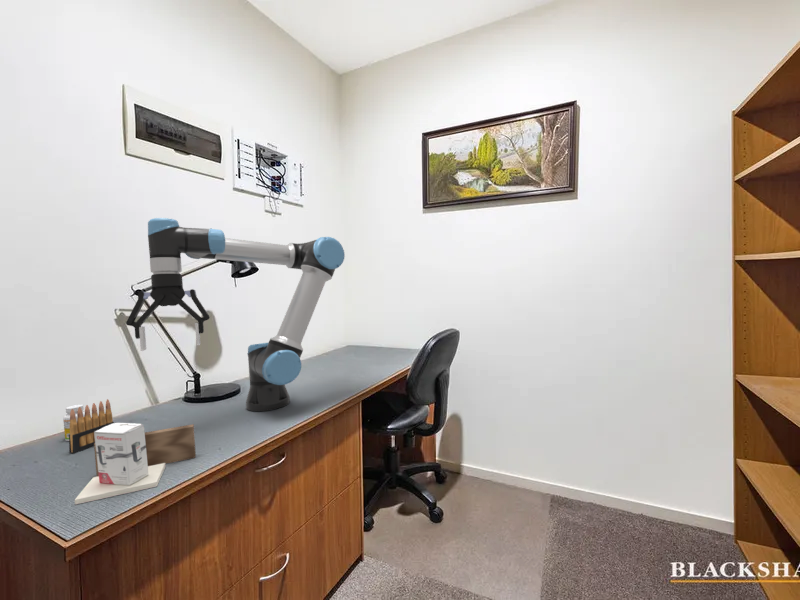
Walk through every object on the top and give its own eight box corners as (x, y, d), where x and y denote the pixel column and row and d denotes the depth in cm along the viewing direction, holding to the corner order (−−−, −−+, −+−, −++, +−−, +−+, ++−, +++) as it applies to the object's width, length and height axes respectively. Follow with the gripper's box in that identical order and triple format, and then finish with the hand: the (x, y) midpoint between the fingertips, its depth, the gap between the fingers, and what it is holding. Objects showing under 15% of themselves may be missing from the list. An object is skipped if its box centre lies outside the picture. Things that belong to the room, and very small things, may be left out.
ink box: (96, 484, 79) (92, 430, 79) (119, 472, 84) (115, 421, 84) (129, 486, 78) (125, 431, 77) (150, 474, 82) (146, 422, 82)
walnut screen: (195, 454, 94) (193, 424, 94) (194, 457, 92) (192, 426, 92) (99, 473, 86) (97, 440, 86) (96, 477, 85) (94, 443, 84)
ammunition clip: (73, 453, 99) (70, 410, 99) (69, 453, 100) (65, 409, 99) (115, 438, 109) (113, 398, 109) (111, 437, 110) (108, 398, 109)
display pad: (165, 466, 88) (165, 462, 88) (156, 486, 79) (156, 481, 79) (93, 481, 83) (93, 477, 83) (75, 504, 74) (74, 499, 74)
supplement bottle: (85, 433, 114) (83, 402, 114) (91, 436, 111) (88, 405, 111) (62, 439, 110) (60, 407, 110) (67, 443, 107) (65, 410, 107)
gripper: (216, 273, 113) (220, 341, 113) (117, 275, 103) (122, 350, 103) (214, 271, 106) (219, 344, 106) (108, 274, 96) (114, 354, 97)
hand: (171, 347), depth 105 cm, fingers open, 13 cm apart
